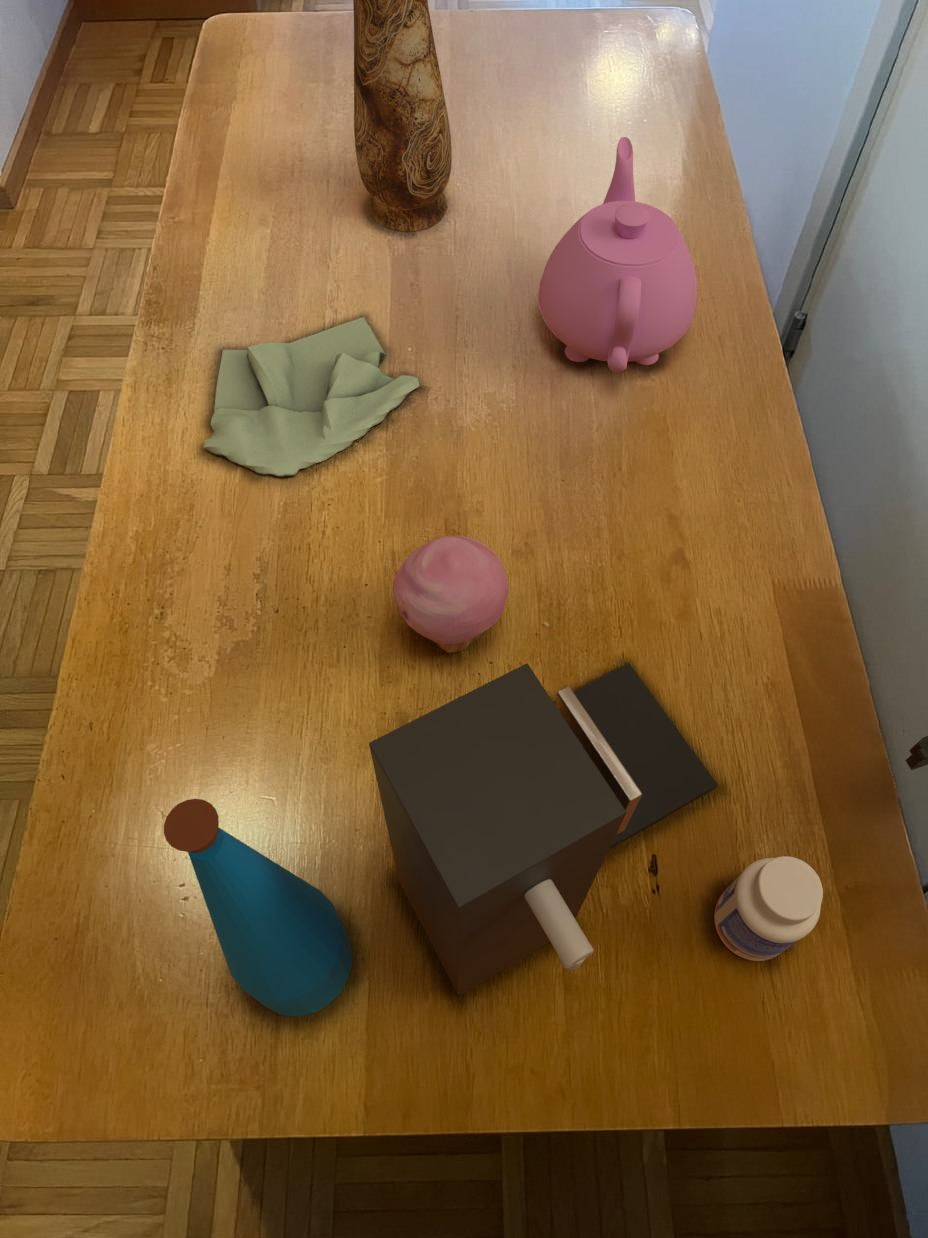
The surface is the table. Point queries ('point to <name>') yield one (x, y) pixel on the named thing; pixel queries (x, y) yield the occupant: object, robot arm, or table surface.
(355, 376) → the cloth
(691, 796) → the mat
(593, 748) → the plate
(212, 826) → the bottle
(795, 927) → the pill bottle
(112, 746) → the table surface
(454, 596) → the cupcake
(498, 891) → the soap dispenser
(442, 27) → the table surface
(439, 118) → the vase
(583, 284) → the teapot
